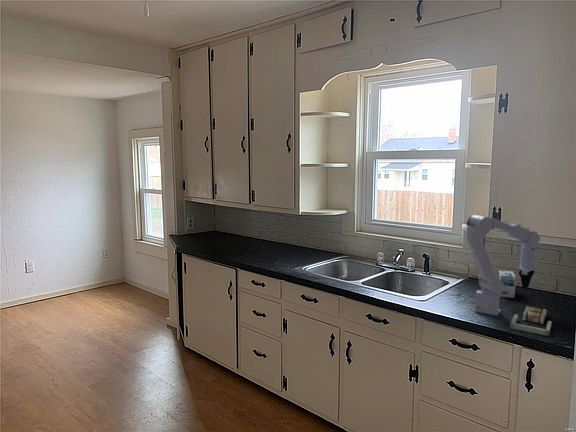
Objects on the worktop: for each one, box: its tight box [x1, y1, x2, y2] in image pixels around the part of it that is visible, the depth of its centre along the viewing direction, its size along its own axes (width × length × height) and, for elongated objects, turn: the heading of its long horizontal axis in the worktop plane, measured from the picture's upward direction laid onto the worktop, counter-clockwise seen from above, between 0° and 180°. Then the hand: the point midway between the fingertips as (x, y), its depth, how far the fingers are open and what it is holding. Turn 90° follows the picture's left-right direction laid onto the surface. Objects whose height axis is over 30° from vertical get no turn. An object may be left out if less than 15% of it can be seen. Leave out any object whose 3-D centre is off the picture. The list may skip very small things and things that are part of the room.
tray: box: [509, 314, 553, 337], centre depth 173 cm, size 13×12×2 cm
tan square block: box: [529, 306, 542, 317], centre depth 185 cm, size 4×4×3 cm
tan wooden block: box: [526, 311, 541, 324], centre depth 180 cm, size 4×4×3 cm
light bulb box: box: [498, 270, 517, 299], centre depth 212 cm, size 11×7×11 cm, turn 158°
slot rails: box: [521, 305, 547, 325], centre depth 183 cm, size 8×12×2 cm, turn 145°
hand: (525, 286), depth 191 cm, fingers open, 2 cm apart
